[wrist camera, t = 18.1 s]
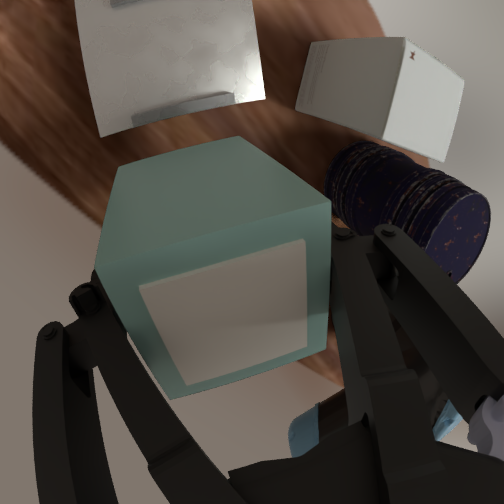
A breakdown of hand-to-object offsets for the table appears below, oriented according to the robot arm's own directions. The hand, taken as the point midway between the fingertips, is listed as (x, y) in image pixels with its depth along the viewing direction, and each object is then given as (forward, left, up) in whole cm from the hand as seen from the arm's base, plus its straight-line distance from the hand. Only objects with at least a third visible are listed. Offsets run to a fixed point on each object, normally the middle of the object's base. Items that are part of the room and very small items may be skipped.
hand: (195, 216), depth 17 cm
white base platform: (+17, -1, -11) cm, 21 cm away
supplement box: (+5, -16, -12) cm, 20 cm away
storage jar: (-6, -19, -12) cm, 23 cm away
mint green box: (0, 0, -2) cm, 2 cm away
